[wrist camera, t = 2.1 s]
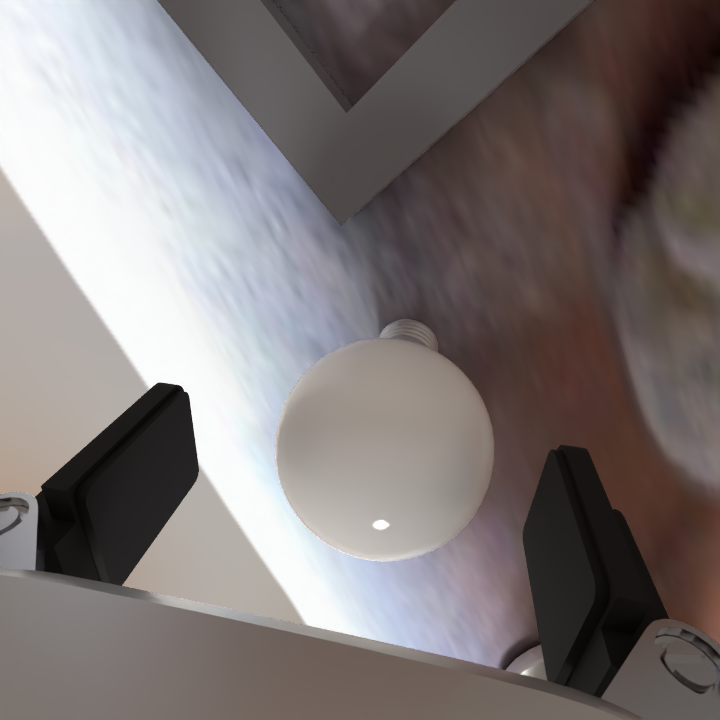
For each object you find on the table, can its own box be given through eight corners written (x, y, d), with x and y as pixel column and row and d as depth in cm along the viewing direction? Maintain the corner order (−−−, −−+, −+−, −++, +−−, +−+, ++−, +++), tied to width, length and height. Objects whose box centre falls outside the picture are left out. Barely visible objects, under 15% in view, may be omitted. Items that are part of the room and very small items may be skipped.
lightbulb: (454, 418, 22) (451, 645, 12) (327, 380, 22) (225, 568, 12) (504, 296, 19) (553, 464, 9) (357, 254, 19) (253, 371, 9)
